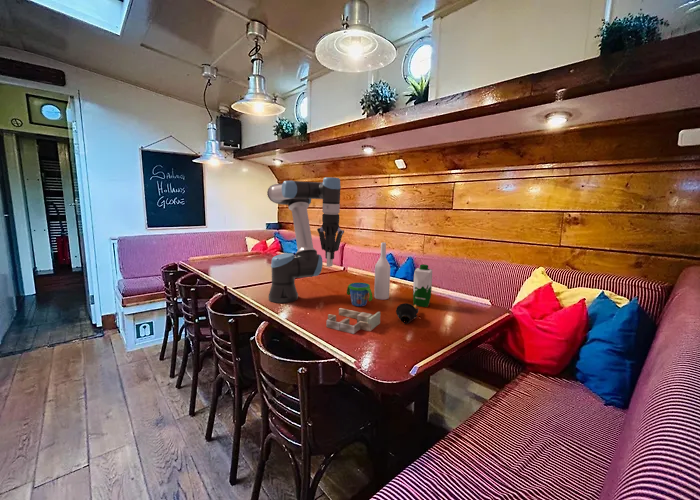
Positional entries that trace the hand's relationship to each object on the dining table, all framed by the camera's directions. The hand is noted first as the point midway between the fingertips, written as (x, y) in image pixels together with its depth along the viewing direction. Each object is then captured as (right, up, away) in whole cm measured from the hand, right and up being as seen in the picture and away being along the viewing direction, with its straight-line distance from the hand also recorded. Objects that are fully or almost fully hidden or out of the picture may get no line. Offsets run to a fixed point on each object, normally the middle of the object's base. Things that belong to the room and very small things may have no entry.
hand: (329, 265), depth 139 cm
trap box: (+10, -24, -10) cm, 28 cm away
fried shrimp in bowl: (+36, -24, -2) cm, 43 cm away
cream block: (+15, -24, -10) cm, 30 cm away
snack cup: (+14, -20, +16) cm, 29 cm away
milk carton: (+46, -21, +17) cm, 53 cm away
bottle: (+26, -19, +28) cm, 43 cm away
